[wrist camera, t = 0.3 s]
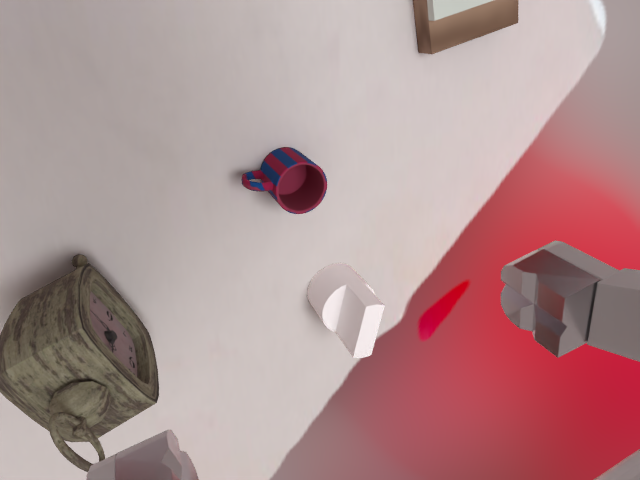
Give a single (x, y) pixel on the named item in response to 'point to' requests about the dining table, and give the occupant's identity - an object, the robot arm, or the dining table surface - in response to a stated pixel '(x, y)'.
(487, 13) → the housing
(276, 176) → the mug
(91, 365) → the tabletop clock
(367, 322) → the cylinder with rectangular tab
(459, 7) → the cover
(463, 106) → the dining table surface
